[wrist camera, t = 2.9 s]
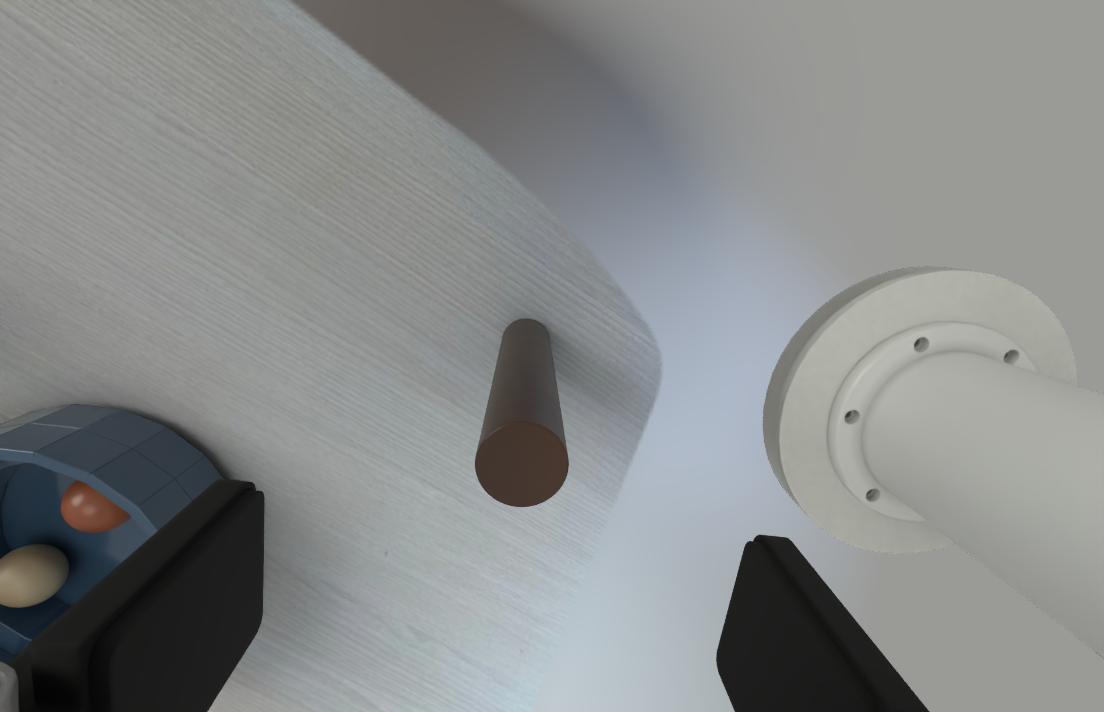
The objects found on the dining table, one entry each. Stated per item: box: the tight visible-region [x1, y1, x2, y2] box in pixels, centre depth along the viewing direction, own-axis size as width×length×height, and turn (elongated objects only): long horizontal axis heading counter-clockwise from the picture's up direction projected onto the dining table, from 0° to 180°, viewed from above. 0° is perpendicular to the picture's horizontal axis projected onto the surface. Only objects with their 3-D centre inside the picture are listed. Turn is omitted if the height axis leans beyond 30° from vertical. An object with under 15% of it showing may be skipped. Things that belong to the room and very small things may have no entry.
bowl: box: [0, 404, 223, 664], centre depth 29 cm, size 15×15×6 cm
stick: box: [475, 319, 569, 507], centre depth 22 cm, size 3×3×15 cm
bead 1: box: [0, 544, 69, 608], centre depth 30 cm, size 3×3×3 cm
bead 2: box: [61, 480, 131, 533], centre depth 29 cm, size 3×3×3 cm
